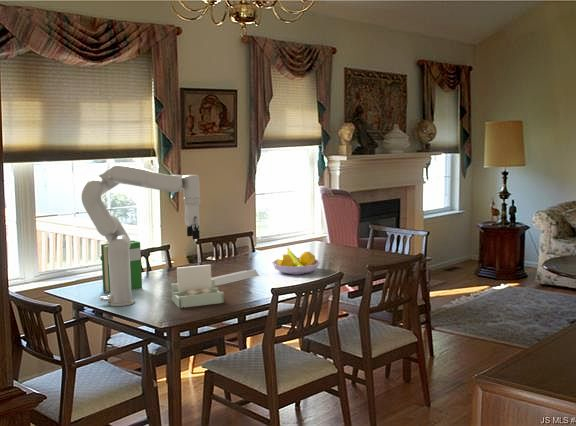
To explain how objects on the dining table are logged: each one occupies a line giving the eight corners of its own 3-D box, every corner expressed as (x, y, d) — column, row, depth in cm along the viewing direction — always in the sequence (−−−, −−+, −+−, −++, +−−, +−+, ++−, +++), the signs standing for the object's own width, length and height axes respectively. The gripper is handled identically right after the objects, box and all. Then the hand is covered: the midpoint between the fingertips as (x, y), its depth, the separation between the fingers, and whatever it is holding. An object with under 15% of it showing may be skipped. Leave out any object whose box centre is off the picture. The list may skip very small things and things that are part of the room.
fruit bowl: (321, 276, 362) (320, 256, 361) (271, 277, 363) (270, 256, 361) (319, 266, 390) (319, 247, 389) (273, 267, 391) (272, 247, 389)
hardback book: (109, 294, 331) (107, 246, 328) (103, 291, 337) (100, 244, 334) (142, 288, 342) (140, 242, 339) (135, 285, 348) (133, 240, 345)
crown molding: (244, 274, 376) (244, 267, 375) (259, 277, 367) (259, 270, 367) (201, 283, 353) (201, 276, 353) (216, 287, 345) (216, 280, 344)
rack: (179, 307, 303) (178, 290, 302) (171, 300, 316) (171, 283, 315) (223, 302, 311) (223, 285, 310) (214, 295, 324) (214, 279, 323)
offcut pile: (188, 306, 306) (187, 293, 305) (184, 303, 312) (184, 290, 311) (213, 303, 311) (213, 290, 310) (209, 300, 316) (209, 287, 316)
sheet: (179, 301, 314) (177, 268, 312) (178, 300, 315) (176, 267, 314) (211, 298, 320) (210, 265, 318) (210, 297, 322) (209, 264, 320)
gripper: (179, 200, 318) (180, 235, 321) (188, 203, 303) (190, 240, 305) (194, 199, 321) (196, 234, 323) (204, 202, 305) (206, 239, 308)
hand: (193, 237), depth 314 cm, fingers open, 9 cm apart
